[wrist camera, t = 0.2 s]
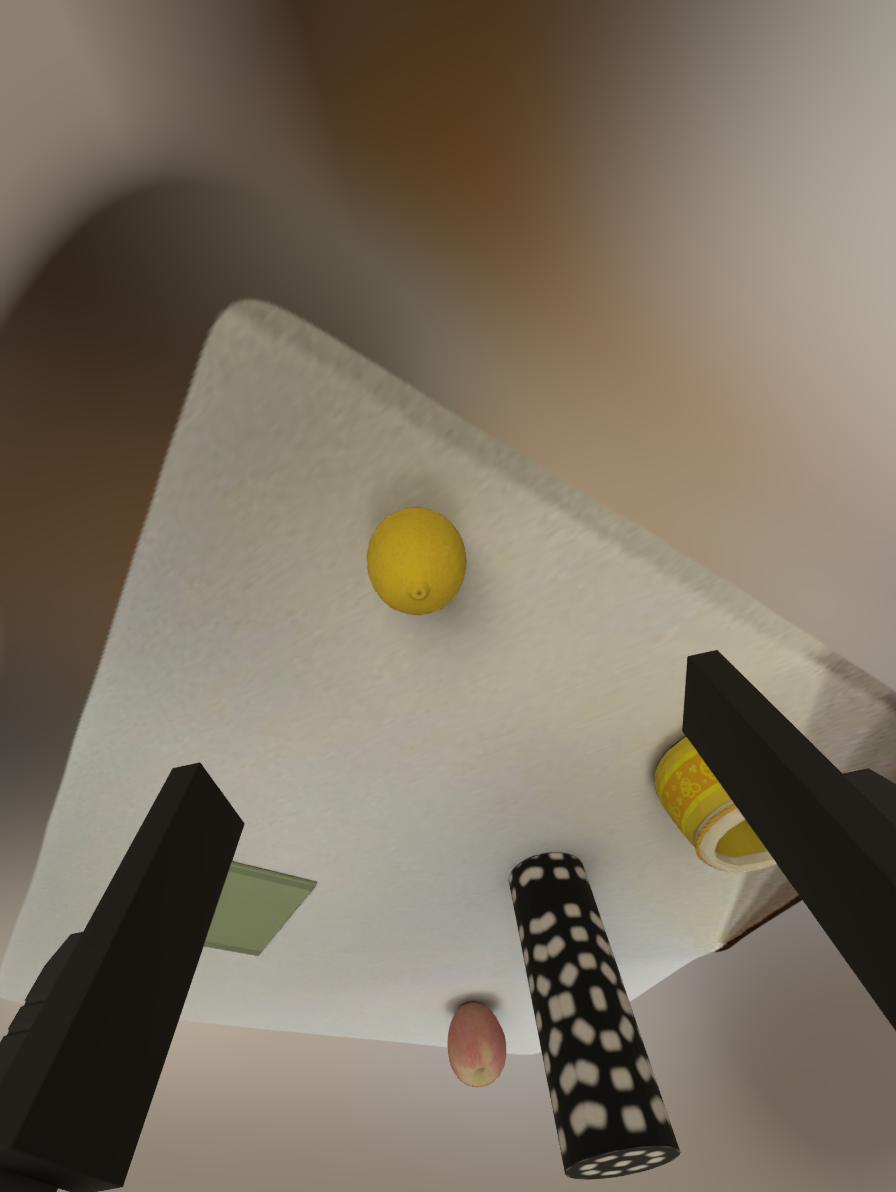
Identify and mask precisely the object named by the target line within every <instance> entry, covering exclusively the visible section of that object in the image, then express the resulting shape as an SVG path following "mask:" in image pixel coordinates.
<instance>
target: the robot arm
mask: <svg viewBox="0 0 896 1192" xmlns="http://www.w3.org/2000/svg"><path fill="white" fill-rule="evenodd" d="M682 731H683V733H684V734H685V735H686V737H687V738H688V740H689V741H690V742H691V744H692V745H693V747H694V748H695V749H696V751H697V752H698V754H699V755H700V756H701V758H702V759H703V761H704V762H705V764H706V765H707V766H708V768H709V769H710V771H711V772H712V773H713V775H714V776H715V778H716V779H717V780H718V782H719V783H720V785H721V786H722V787H723V789H724V790H725V792H726V793H727V794H728V796H729V797H730V799H731V800H732V801H733V803H734V804H735V806H736V807H737V808H738V810H739V811H740V813H741V814H742V816H743V817H744V818H745V820H746V821H747V823H748V824H749V825H750V827H751V828H752V830H753V831H754V832H755V834H756V835H757V837H758V838H759V839H760V841H761V842H762V844H763V845H764V846H765V848H766V849H767V851H768V852H769V853H770V855H771V856H772V858H773V859H774V860H775V862H776V863H777V865H778V866H779V868H780V869H781V870H782V872H783V873H784V875H785V876H786V877H787V879H788V880H789V882H790V883H791V884H792V886H793V887H794V889H795V890H796V891H797V893H798V894H799V896H800V897H801V898H802V900H803V901H804V903H805V904H806V905H807V907H808V908H809V910H810V911H811V912H812V914H813V915H814V917H815V918H816V919H817V921H818V922H819V924H820V925H821V927H822V928H823V929H824V931H825V932H826V933H827V935H828V936H829V938H830V939H831V941H832V942H833V943H834V944H835V946H836V948H837V949H838V950H839V952H840V953H841V955H842V956H843V957H844V959H845V960H846V962H847V963H848V964H849V966H850V967H851V969H852V970H853V971H854V973H855V974H856V975H857V977H858V978H859V980H860V981H861V983H862V984H863V986H864V987H865V988H866V990H867V991H868V993H869V994H870V995H871V997H872V998H873V999H874V1001H875V1002H876V1004H877V1005H878V1007H879V1008H880V1009H881V1011H882V1012H883V1014H884V1015H885V1016H886V1018H887V1019H888V1020H889V1022H890V1023H891V1025H892V1026H893V1028H894V1029H895V1030H896V784H895V783H893V782H891V781H890V780H888V779H886V778H884V777H883V776H881V775H879V774H877V773H876V772H874V771H872V770H870V769H869V768H868V769H864V770H859V771H854V772H849V773H844V774H842V773H841V772H840V771H839V770H838V769H837V768H836V767H835V766H834V765H833V764H832V763H831V762H830V761H829V760H828V759H827V758H826V757H825V756H824V755H823V754H822V753H821V752H820V751H819V750H818V749H817V748H816V747H815V746H814V745H813V744H812V743H811V742H810V741H809V740H808V739H807V738H806V737H805V736H804V735H803V734H802V733H801V732H800V731H799V730H798V729H797V728H796V727H795V726H794V725H793V724H792V723H791V722H790V721H789V720H788V719H787V718H786V717H785V716H784V715H782V714H781V713H780V712H779V711H778V710H777V709H776V708H775V707H774V706H773V705H772V704H771V703H770V702H769V701H768V700H767V699H766V698H765V697H764V696H763V695H762V694H761V693H760V692H759V691H758V690H757V689H756V688H755V687H754V686H753V685H752V684H751V683H750V682H749V681H748V680H747V679H746V678H745V677H744V676H743V675H742V674H741V673H740V672H739V671H738V670H737V669H736V668H735V667H734V666H733V665H732V664H731V663H730V662H729V661H728V660H727V659H726V658H725V657H724V656H723V655H722V654H721V653H720V652H719V651H718V650H715V651H710V652H706V653H701V654H696V655H692V656H688V658H687V672H686V686H685V700H684V714H683V728H682ZM243 827H244V822H243V821H242V819H241V818H240V817H239V815H238V814H237V813H236V811H235V810H234V808H233V807H232V806H231V804H230V803H229V802H228V800H227V799H226V797H225V796H224V795H223V793H222V792H221V790H220V789H219V788H218V786H217V785H216V784H215V782H214V781H213V779H212V778H211V777H210V775H209V774H208V772H207V771H206V770H205V768H204V767H203V766H202V764H201V763H195V764H190V765H186V766H181V767H177V768H173V769H172V771H171V773H170V774H169V776H168V778H167V780H166V782H165V783H164V785H163V787H162V789H161V791H160V793H159V794H158V796H157V798H156V800H155V802H154V804H153V805H152V807H151V809H150V811H149V813H148V815H147V816H146V818H145V820H144V822H143V824H142V825H141V827H140V829H139V831H138V833H137V835H136V836H135V838H134V840H133V842H132V844H131V846H130V847H129V849H128V851H127V853H126V855H125V857H124V858H123V860H122V862H121V864H120V866H119V868H118V869H117V871H116V873H115V875H114V877H113V878H112V880H111V882H110V884H109V886H108V888H107V889H106V891H105V893H104V895H103V897H102V899H101V900H100V902H99V904H98V906H97V908H96V910H95V911H94V913H93V915H92V917H91V919H90V920H89V922H88V924H87V926H86V928H85V930H84V931H83V932H80V933H75V934H71V935H70V936H69V937H68V939H67V940H66V941H65V942H64V943H63V944H62V946H61V947H60V948H59V949H58V950H57V952H56V953H55V954H54V955H53V956H52V958H51V959H50V960H49V961H48V962H47V963H46V965H45V966H44V968H43V970H42V971H41V973H40V975H39V976H38V978H37V980H36V982H35V983H34V985H33V987H32V988H31V990H30V992H29V994H28V995H27V997H26V999H25V1001H26V1002H25V1005H24V1006H22V1007H21V1008H20V1009H19V1011H18V1013H17V1014H16V1016H15V1018H14V1020H13V1021H12V1023H11V1025H10V1026H9V1028H8V1029H9V1032H8V1034H7V1035H6V1036H4V1037H3V1039H2V1040H1V1042H0V1192H57V1189H58V1188H59V1189H62V1190H66V1191H69V1192H98V1191H104V1190H109V1189H114V1188H120V1187H123V1185H124V1182H125V1179H126V1176H127V1173H128V1170H129V1167H130V1164H131V1161H132V1158H133V1155H134V1152H135V1149H136V1146H137V1143H138V1140H139V1137H140V1134H141V1131H142V1128H143V1125H144V1122H145V1119H146V1116H147V1113H148V1110H149V1107H150V1104H151V1101H152V1098H153V1095H154V1092H155V1089H156V1086H157V1083H158V1080H159V1077H160V1074H161V1071H162V1068H163V1065H164V1063H165V1059H166V1057H167V1054H168V1050H169V1048H170V1045H171V1042H172V1039H173V1036H174V1033H175V1029H176V1027H177V1024H178V1021H179V1018H180V1015H181V1012H182V1009H183V1006H184V1003H185V1000H186V997H187V994H188V991H189V988H190V985H191V982H192V979H193V976H194V973H195V970H196V967H197V964H198V961H199V958H200V955H201V952H202V949H203V946H204V943H205V940H206V937H207V934H208V931H209V928H210V925H211V922H212V919H213V916H214V913H215V910H216V907H217V904H218V901H219V898H220V896H221V893H222V890H223V887H224V884H225V881H226V878H227V875H228V872H229V869H230V866H231V863H232V860H233V857H234V854H235V851H236V848H237V845H238V842H239V839H240V836H241V833H242V830H243Z"/></svg>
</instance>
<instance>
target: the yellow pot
mask: <svg viewBox="0 0 896 1192" xmlns="http://www.w3.org/2000/svg"><path fill="white" fill-rule="evenodd" d="M655 786H656V793H657V795H658V797H659V799H660V801H661V803H662V805H663V807H664V808H665V810H666V811H667V813H668V814H669V815H670V817H671V818H672V820H673V821H674V823H675V824H676V825H677V827H678V828H679V829H680V830H681V832H682V833H683V834H684V836H685V837H686V838H687V839H688V840H689V842H690V843H691V844H692V845H693V846H694V847H695V849H696V854H697V856H698V857H699V858H700V859H701V860H702V861H703V862H704V863H706V864H707V865H709V866H711V867H714V868H716V869H718V870H722V871H728V872H735V873H737V872H748V871H755V870H760V869H764V868H768V867H771V866H773V865H775V864H777V863H776V862H775V860H774V859H773V858H772V856H771V855H770V853H769V852H768V851H767V849H766V848H765V846H764V845H763V844H762V842H761V841H760V839H759V838H758V837H757V835H756V834H755V832H754V831H753V830H752V828H751V827H750V825H749V824H748V823H747V821H746V820H745V818H744V817H743V816H742V814H741V813H740V811H739V810H738V808H737V807H736V806H735V804H734V803H733V801H732V800H731V799H730V797H729V796H728V794H727V793H726V792H725V790H724V789H723V787H722V786H721V785H720V783H719V782H718V780H717V779H716V778H715V776H714V775H713V773H712V772H711V771H710V769H709V768H708V766H707V765H706V764H705V762H704V761H703V759H702V758H701V756H700V755H699V754H698V752H697V751H696V749H695V748H694V747H693V745H692V744H691V742H690V741H689V740H688V738H687V737H685V738H684V739H682V740H681V741H680V742H678V743H677V744H676V745H675V746H673V747H672V748H671V749H669V750H668V751H667V752H666V754H665V755H664V756H663V758H662V759H661V760H660V762H659V765H658V767H657V769H656V771H655Z"/></svg>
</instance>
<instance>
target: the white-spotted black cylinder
mask: <svg viewBox="0 0 896 1192" xmlns="http://www.w3.org/2000/svg"><path fill="white" fill-rule="evenodd" d="M509 884H510V889H511V894H512V900H513V905H514V910H515V915H516V920H517V926H518V931H519V936H520V941H521V947H522V952H523V957H524V962H525V967H526V973H527V978H528V983H529V988H530V993H531V999H532V1004H533V1009H534V1014H535V1019H536V1025H537V1030H538V1035H539V1040H540V1045H541V1051H542V1055H543V1061H544V1066H545V1071H546V1077H547V1082H548V1086H549V1092H550V1098H551V1103H552V1108H553V1113H554V1118H555V1123H556V1129H557V1134H558V1139H559V1144H560V1150H561V1154H562V1160H563V1165H564V1170H565V1175H566V1176H568V1177H570V1178H575V1179H604V1178H612V1177H618V1176H624V1175H630V1174H634V1173H638V1172H642V1171H646V1170H649V1169H653V1168H656V1167H659V1166H661V1165H664V1164H666V1163H668V1162H670V1161H672V1160H674V1159H675V1158H677V1157H678V1156H679V1155H680V1150H679V1147H678V1144H677V1141H676V1138H675V1135H674V1132H673V1129H672V1126H671V1123H670V1120H669V1117H668V1115H667V1111H666V1108H665V1106H664V1103H663V1100H662V1097H661V1094H660V1091H659V1088H658V1085H657V1082H656V1079H655V1076H654V1073H653V1070H652V1067H651V1064H650V1062H649V1058H648V1055H647V1053H646V1050H645V1047H644V1044H643V1041H642V1038H641V1035H640V1032H639V1029H638V1026H637V1023H636V1020H635V1017H634V1014H633V1011H632V1009H631V1005H630V1002H629V999H628V996H627V994H626V991H625V988H624V985H623V982H622V979H621V976H620V973H619V970H618V967H617V964H616V961H615V958H614V955H613V952H612V949H611V946H610V943H609V940H608V938H607V935H606V932H605V929H604V926H603V923H602V920H601V917H600V914H599V911H598V908H597V905H596V902H595V899H594V896H593V893H592V890H591V887H590V885H589V882H588V879H587V876H586V873H585V870H584V867H583V864H582V863H581V861H580V860H579V859H577V858H576V857H574V856H571V855H568V854H563V853H548V854H542V855H538V856H535V857H532V858H530V859H527V860H525V861H524V862H522V863H520V864H519V865H518V866H516V867H515V868H514V870H513V871H512V872H511V874H510V877H509Z"/></svg>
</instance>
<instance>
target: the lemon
mask: <svg viewBox="0 0 896 1192" xmlns="http://www.w3.org/2000/svg"><path fill="white" fill-rule="evenodd" d="M367 569H368V574H369V577H370V580H371V583H372V585H373V588H374V589H375V591H376V592H377V594H378V595H379V597H380V598H381V599H382V600H383V601H384V602H385V603H386V604H388V605H389V606H390V607H391V608H393V609H395V610H397V611H399V612H403V613H407V614H411V615H422V614H428V613H432V612H434V611H437V610H439V609H441V608H443V607H444V606H445V605H447V604H448V603H449V602H450V601H451V600H452V599H453V597H454V596H455V595H456V594H457V593H458V591H459V588H460V586H461V584H462V582H463V579H464V575H465V569H466V553H465V547H464V544H463V541H462V539H461V536H460V534H459V532H458V531H457V530H456V528H455V527H454V525H453V524H452V523H451V522H450V521H449V520H448V519H446V518H445V517H444V516H443V515H441V514H439V513H437V512H435V511H433V510H430V509H426V508H421V507H413V508H405V509H402V510H399V511H396V512H394V513H393V514H391V515H390V516H388V517H386V518H385V519H384V520H383V521H382V522H381V523H380V525H379V526H378V527H377V528H376V530H375V532H374V534H373V536H372V537H371V539H370V542H369V547H368V551H367Z"/></svg>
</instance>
